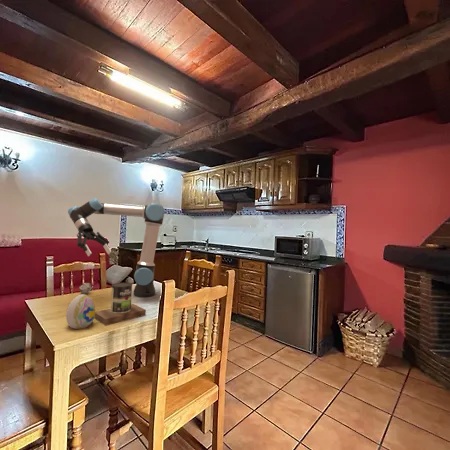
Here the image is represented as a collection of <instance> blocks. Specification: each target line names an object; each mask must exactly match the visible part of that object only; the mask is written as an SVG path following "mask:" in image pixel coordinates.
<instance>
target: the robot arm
mask: <svg viewBox="0 0 450 450" xmlns="http://www.w3.org/2000/svg"><path fill="white" fill-rule="evenodd" d="M165 212H166V210H165V208H164V206H163V205H162V204H160V203H158V202H152V203H150V204H149V205H147V204H144V205H143V206H141V205H129V204H117V203H104V202H101V200H99V199H98V198H97V197H94V198H91V199H90V200H89V201H87V202H85V203H84V204H83V205H81V206H78V205H74V206H71V207H70V208H68V210H67V213H68V215H69V216H68V217H69V218H70V219H71V221H72V222H73V225H74V226H75V227H76V229H77V234H76V237H77V242H76V243H77V244H76V246H77V248H78V247H79V249H82V251H84V252H85V254H86V255H87V257H90V256H91V255H92V251H91V250H90V248H89V246H88V244H86V243H87V241H89V240H91V241H92V240H93V241H95V242H96V243H98V244H101V245H102V246H103V247H102V248H104V250H105V252H106V254H107V255H110V254H111V253H112V250H111V248H110V246H109V244H110V241H109V240H108V239H107V238H106V237H104V236H103V235H102V234H100V232H98V231H97V232H95V231H94V228H93V226H92V225H91V223H90V221H89V220H88V219H87V218H89V217H90V216H92V215H93V214H94V215H107V216H123V217H124V216H125V217H133V218H135V217H137V218H143V219H144V222H143V223H145V225H146V226H145V230H144V236H143V243H142V248H141V253H140V259H139V261H137V263H136V267H135V272H134V274H133V277H134V278H133V279H134V281H135V283H136V285H135V287H134V289H133V291H132V292H133V293H132V295H133V296H134V297H137V298H138V297H139V298H147V297H154V296H156V288H155V284H154V280H155V279H154V278H155V268H156V264H155V262H154V261H155V256H156V255H155V254H156V249H157V242H158V237H159V233H160V232H159V231H160V227H162V226H163V222H164V216H165Z"/></svg>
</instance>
